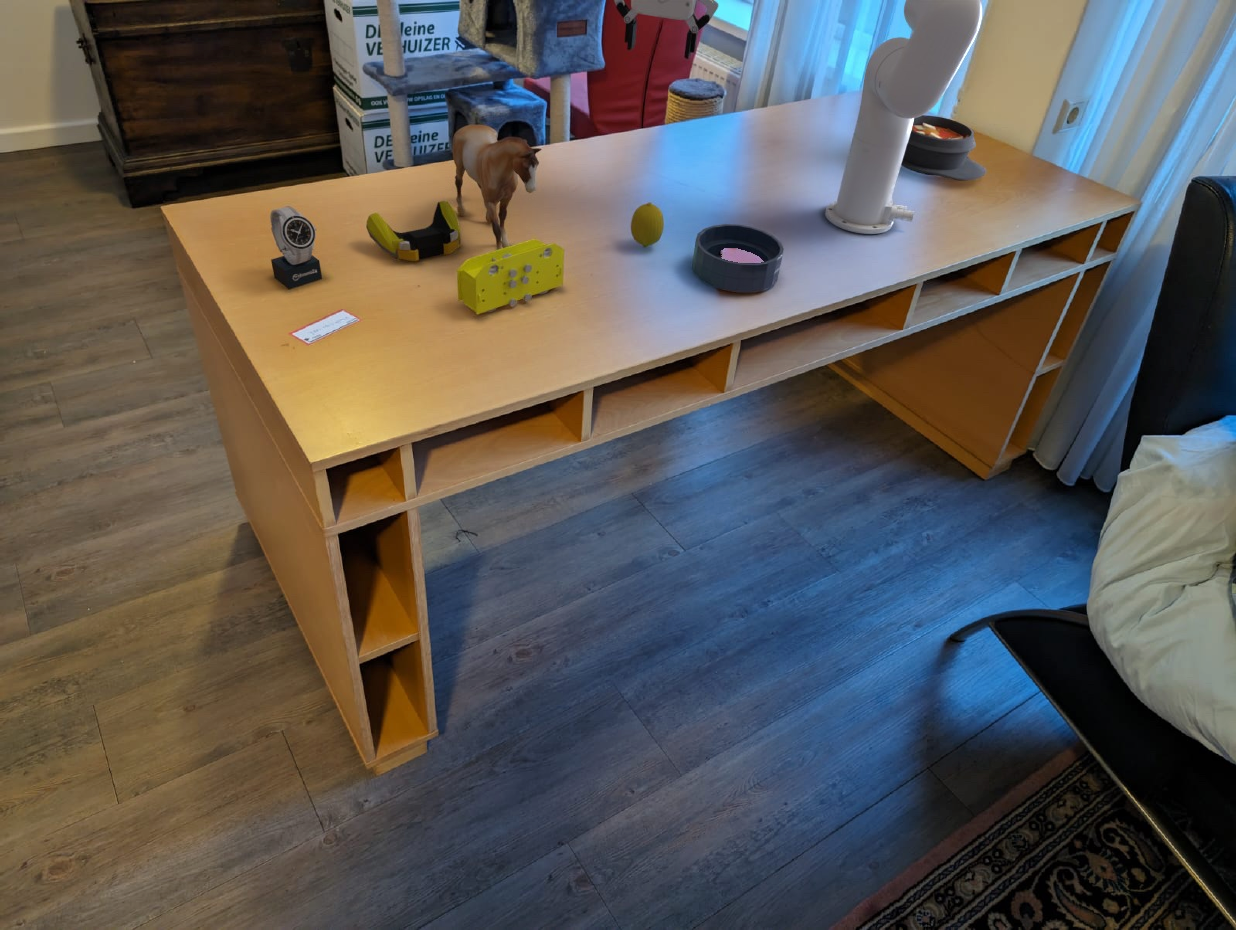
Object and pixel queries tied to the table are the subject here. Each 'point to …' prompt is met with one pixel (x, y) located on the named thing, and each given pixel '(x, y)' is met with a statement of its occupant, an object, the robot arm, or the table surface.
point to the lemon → (647, 224)
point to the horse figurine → (493, 170)
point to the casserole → (941, 149)
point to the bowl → (734, 273)
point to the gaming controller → (418, 236)
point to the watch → (294, 248)
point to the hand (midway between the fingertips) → (659, 52)
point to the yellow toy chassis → (510, 275)
